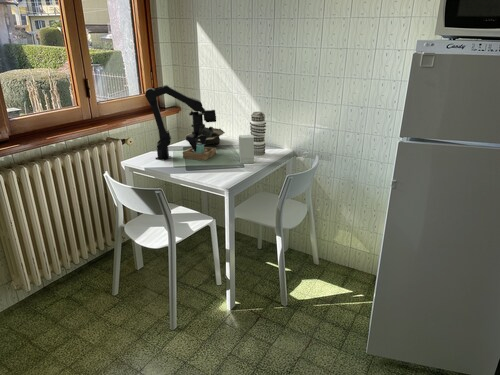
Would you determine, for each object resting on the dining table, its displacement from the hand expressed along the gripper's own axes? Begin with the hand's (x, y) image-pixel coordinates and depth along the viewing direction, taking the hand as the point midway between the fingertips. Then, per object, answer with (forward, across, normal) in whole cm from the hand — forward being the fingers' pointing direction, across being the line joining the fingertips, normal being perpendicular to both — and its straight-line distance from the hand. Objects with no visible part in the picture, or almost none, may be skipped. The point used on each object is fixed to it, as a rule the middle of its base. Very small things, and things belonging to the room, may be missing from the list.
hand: (199, 149), depth 223 cm
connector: (+3, 0, 0) cm, 3 cm away
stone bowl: (+4, +22, +9) cm, 24 cm away
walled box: (+4, 0, 0) cm, 4 cm away
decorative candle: (+4, +14, -31) cm, 34 cm away
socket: (+4, 0, 0) cm, 4 cm away
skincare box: (+4, 0, -30) cm, 30 cm away
